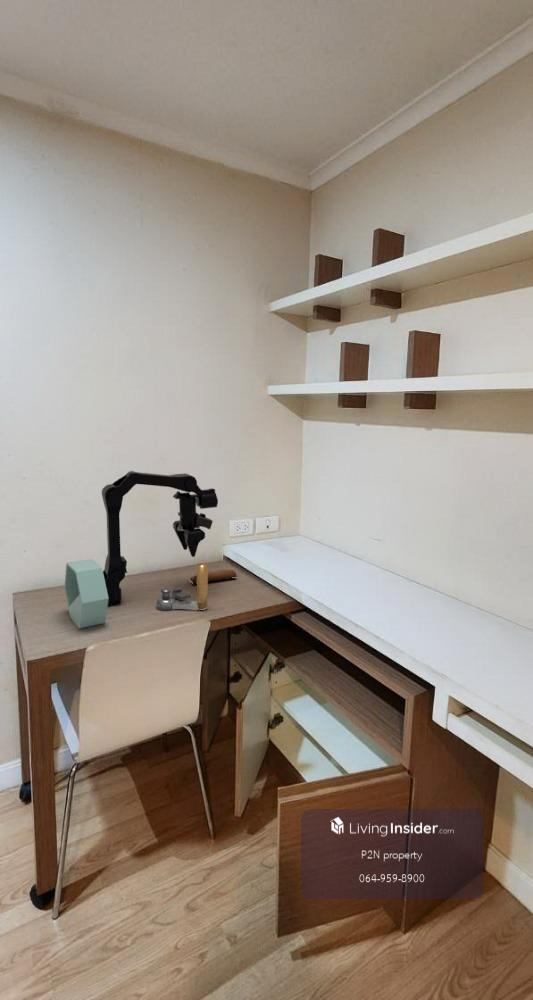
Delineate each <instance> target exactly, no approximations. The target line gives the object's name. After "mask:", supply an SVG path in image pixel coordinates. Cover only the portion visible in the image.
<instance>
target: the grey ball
mask: <svg viewBox="0 0 533 1000" xmlns="http://www.w3.org/2000/svg"><path fill="white" fill-rule="evenodd" d="M160 593H161V596H162V599H163V600H168V599H170V596H171V594H170V593H172V588H169V587H162V588H160Z"/></svg>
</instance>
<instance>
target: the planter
mask: <svg viewBox="0 0 533 1000" xmlns="http://www.w3.org/2000/svg"><path fill="white" fill-rule="evenodd" d="M65 566H66V567H65V575H64V586H63V587H64V594H65V599H66V603H67V608H68V609H67V610H68V613H69V614H68V615H69V618H70V619H71V620H72V622H73V623H74V624H75V625H76V626H77V628H78V629H84V628H89V627H93V626H98V625H102V624H105V623H106V619H107V612H108V607H109V606H108V600H109V598H108V593H107V588H106V584H105V579H104V574H103V571H104V569H103V567H102V566H101V565H100V564H98V562H96V561H95V560H94V559H92V558H90V559H81V560H75V561H69V562H66V564H65Z"/></svg>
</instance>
